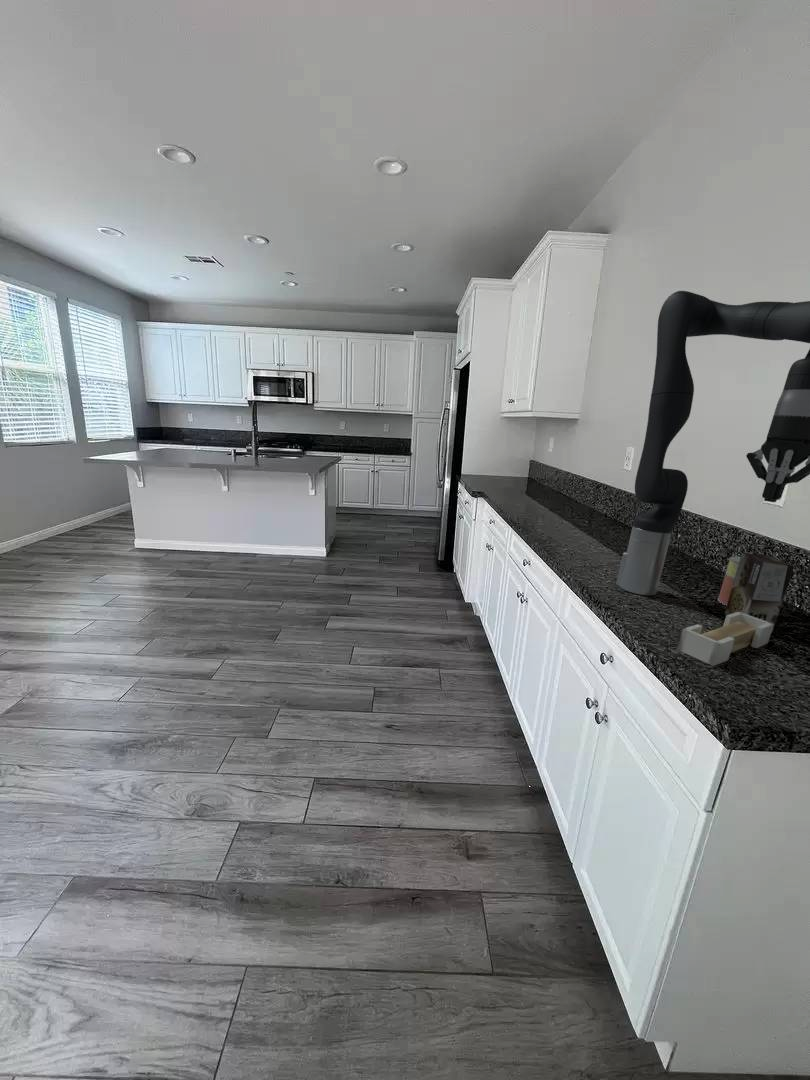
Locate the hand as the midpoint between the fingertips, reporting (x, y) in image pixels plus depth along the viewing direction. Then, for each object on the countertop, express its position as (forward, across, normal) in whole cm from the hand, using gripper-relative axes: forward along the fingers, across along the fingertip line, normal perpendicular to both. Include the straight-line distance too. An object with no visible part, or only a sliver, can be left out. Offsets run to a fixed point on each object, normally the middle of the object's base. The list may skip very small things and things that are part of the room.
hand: (770, 501), depth 91 cm
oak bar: (+30, +4, -12) cm, 32 cm away
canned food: (+30, -6, +22) cm, 38 cm away
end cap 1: (+29, +4, -20) cm, 36 cm away
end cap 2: (+29, +4, -2) cm, 30 cm away
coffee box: (+30, 0, +10) cm, 31 cm away
